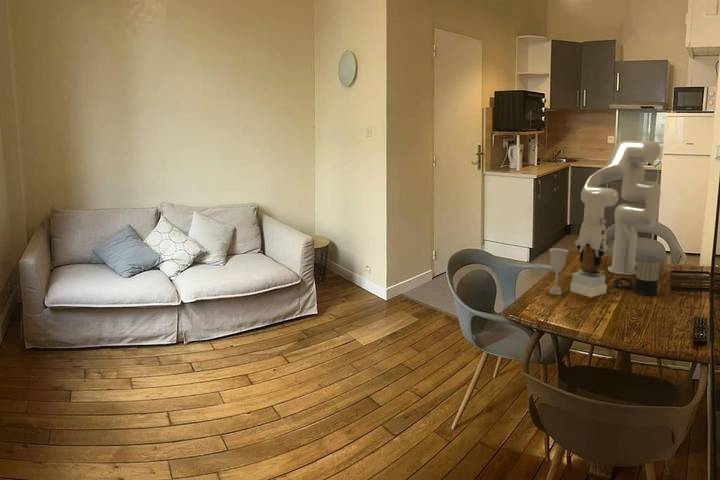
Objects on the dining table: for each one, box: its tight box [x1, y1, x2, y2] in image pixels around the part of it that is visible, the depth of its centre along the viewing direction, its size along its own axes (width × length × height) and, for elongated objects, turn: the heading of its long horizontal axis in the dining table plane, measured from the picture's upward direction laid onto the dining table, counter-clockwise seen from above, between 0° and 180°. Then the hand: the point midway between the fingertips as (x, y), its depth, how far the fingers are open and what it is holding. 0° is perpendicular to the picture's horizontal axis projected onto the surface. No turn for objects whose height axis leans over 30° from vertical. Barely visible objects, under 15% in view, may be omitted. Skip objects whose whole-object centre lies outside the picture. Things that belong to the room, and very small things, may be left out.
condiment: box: [576, 244, 606, 275], centre depth 243 cm, size 7×8×12 cm
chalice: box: [548, 247, 569, 296], centre depth 243 cm, size 7×7×18 cm
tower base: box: [569, 282, 608, 298], centre depth 246 cm, size 10×10×4 cm
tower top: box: [571, 271, 607, 288], centre depth 245 cm, size 9×9×4 cm
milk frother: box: [613, 254, 662, 296], centre depth 247 cm, size 14×16×15 cm
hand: (589, 263), depth 244 cm, fingers closed on condiment, 6 cm apart
